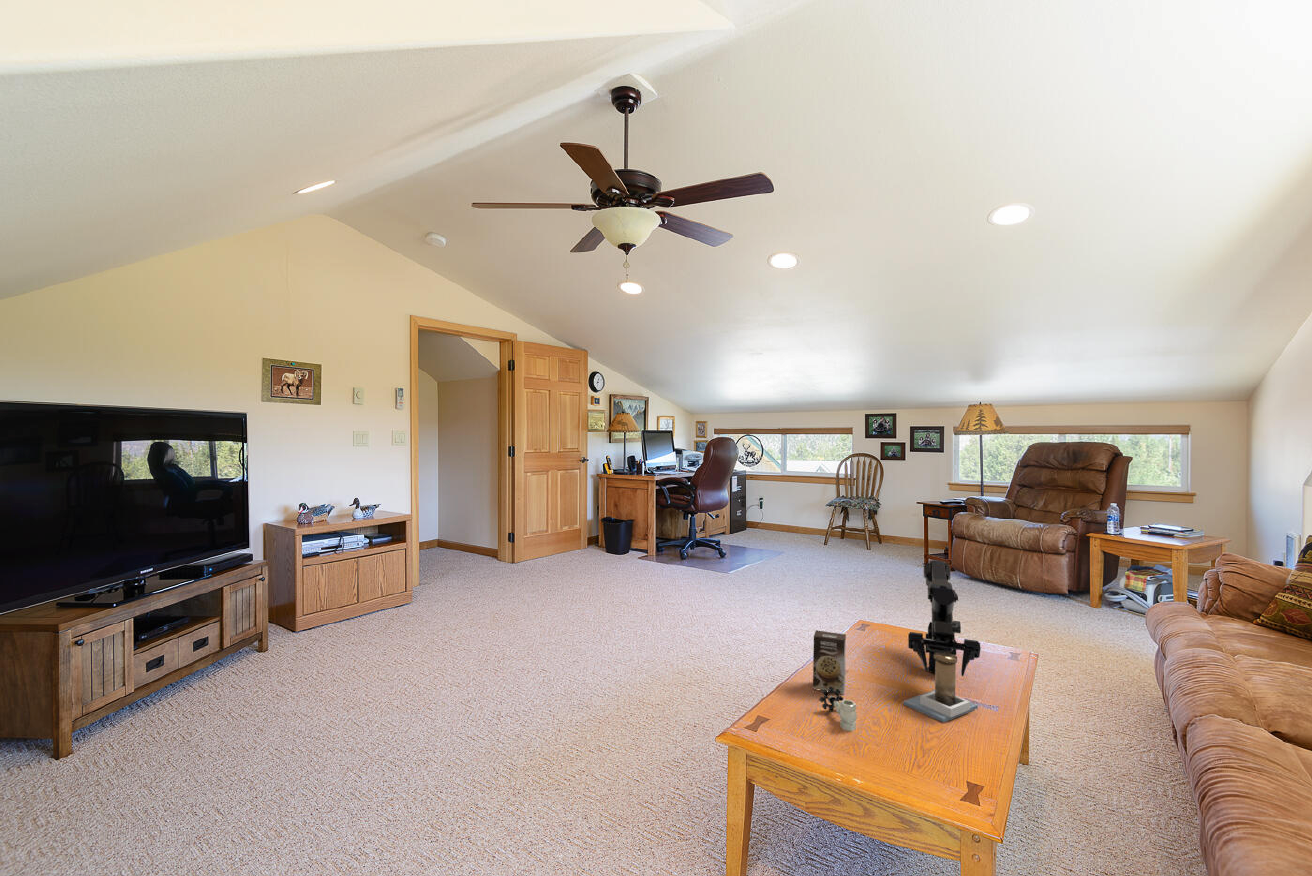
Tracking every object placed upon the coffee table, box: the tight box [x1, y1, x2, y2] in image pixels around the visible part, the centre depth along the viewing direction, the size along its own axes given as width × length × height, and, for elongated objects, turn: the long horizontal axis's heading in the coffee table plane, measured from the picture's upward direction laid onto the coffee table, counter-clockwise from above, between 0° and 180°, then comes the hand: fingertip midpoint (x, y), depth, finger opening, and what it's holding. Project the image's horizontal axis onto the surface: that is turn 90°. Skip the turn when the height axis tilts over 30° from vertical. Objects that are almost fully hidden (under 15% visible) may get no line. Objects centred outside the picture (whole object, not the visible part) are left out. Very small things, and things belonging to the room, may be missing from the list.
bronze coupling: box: [934, 652, 958, 707], centre depth 157 cm, size 6×6×14 cm
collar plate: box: [902, 689, 979, 724], centre depth 159 cm, size 16×12×3 cm
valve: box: [818, 687, 858, 732], centre depth 151 cm, size 7×7×12 cm
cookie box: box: [812, 629, 847, 696], centre depth 170 cm, size 9×6×16 cm
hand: (944, 672), depth 161 cm, fingers open, 9 cm apart
